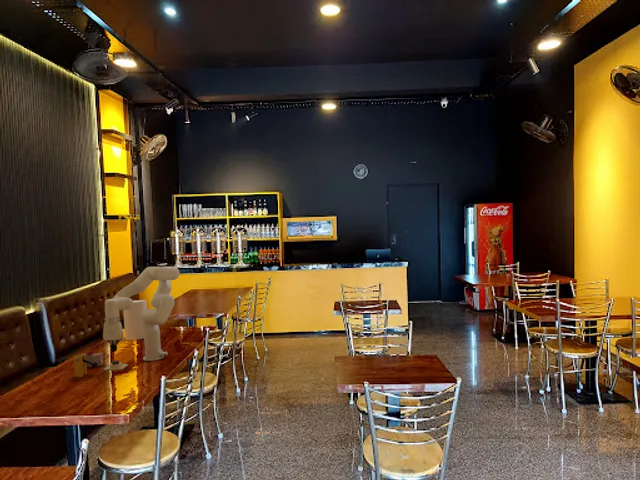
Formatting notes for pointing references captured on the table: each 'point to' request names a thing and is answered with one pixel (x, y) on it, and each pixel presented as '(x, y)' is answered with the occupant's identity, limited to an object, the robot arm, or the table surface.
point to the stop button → (115, 362)
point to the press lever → (90, 362)
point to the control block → (115, 366)
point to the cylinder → (134, 320)
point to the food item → (94, 358)
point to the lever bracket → (80, 365)
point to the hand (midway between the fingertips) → (114, 351)
